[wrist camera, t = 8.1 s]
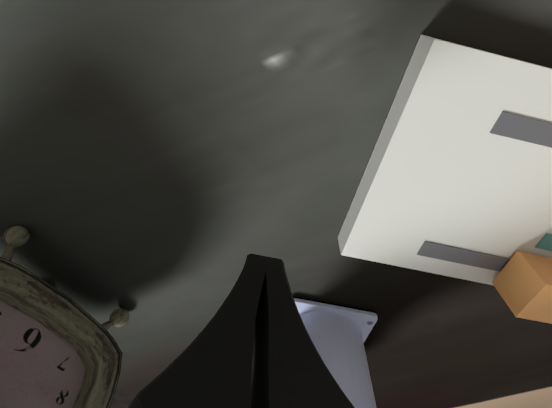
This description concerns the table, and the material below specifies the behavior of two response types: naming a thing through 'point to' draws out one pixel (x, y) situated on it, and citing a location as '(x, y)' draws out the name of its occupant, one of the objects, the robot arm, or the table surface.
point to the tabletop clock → (51, 342)
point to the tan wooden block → (527, 286)
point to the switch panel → (458, 167)
